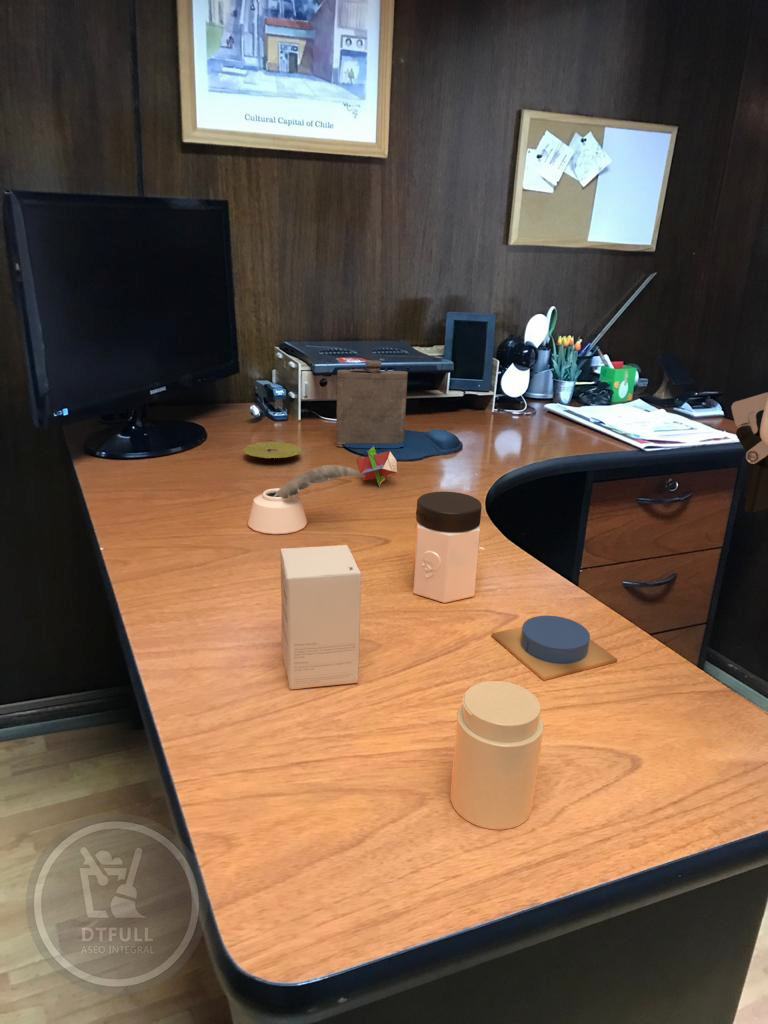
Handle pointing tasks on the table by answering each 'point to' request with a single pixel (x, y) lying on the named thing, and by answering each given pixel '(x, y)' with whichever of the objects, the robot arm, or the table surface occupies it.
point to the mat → (272, 450)
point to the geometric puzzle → (377, 465)
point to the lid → (555, 639)
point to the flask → (370, 405)
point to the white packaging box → (320, 616)
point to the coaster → (549, 669)
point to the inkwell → (290, 501)
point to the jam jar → (496, 755)
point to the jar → (446, 546)
